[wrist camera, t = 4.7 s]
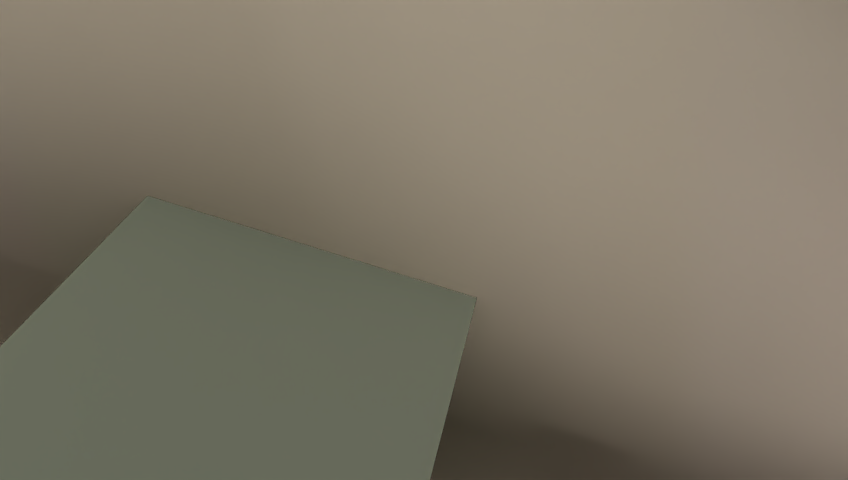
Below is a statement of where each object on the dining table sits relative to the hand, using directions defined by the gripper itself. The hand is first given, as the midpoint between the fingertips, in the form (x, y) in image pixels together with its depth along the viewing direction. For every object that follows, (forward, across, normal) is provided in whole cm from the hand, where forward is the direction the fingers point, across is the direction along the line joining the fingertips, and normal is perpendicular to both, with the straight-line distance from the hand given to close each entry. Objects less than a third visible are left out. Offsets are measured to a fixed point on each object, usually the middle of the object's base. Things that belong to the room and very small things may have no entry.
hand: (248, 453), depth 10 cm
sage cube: (+2, 0, 0) cm, 2 cm away
